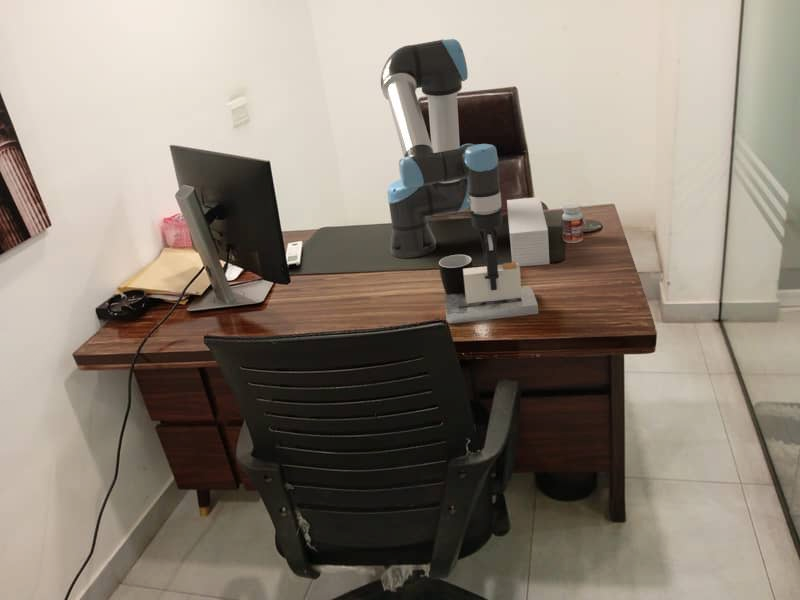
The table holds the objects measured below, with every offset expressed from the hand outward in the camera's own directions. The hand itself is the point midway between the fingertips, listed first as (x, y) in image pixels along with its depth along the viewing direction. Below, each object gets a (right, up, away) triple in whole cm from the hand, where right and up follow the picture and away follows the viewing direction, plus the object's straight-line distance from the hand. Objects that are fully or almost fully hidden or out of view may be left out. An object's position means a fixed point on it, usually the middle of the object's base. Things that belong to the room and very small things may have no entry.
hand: (493, 295), depth 173 cm
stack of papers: (+16, +16, +38) cm, 44 cm away
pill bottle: (+30, +18, +36) cm, 50 cm away
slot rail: (-1, -3, +1) cm, 4 cm away
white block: (0, -2, +1) cm, 2 cm away
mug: (-8, +1, +13) cm, 15 cm away
